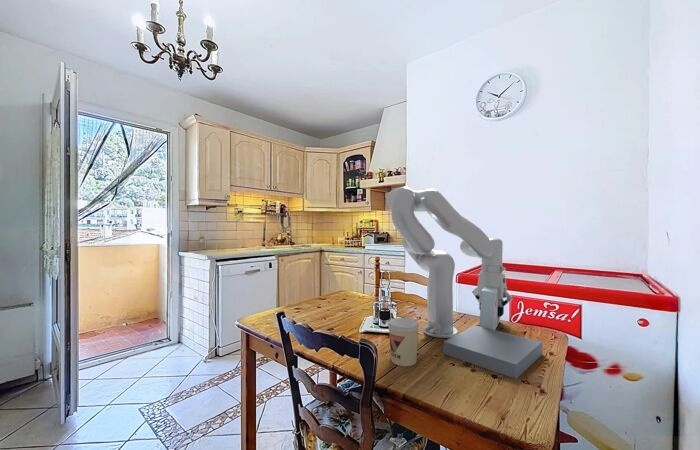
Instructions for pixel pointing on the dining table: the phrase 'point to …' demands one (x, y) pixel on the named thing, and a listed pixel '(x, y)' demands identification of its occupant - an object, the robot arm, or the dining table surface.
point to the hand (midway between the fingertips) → (491, 313)
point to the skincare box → (489, 308)
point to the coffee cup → (403, 341)
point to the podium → (494, 350)
